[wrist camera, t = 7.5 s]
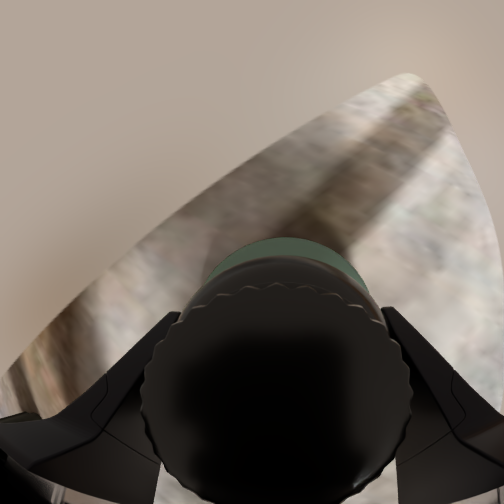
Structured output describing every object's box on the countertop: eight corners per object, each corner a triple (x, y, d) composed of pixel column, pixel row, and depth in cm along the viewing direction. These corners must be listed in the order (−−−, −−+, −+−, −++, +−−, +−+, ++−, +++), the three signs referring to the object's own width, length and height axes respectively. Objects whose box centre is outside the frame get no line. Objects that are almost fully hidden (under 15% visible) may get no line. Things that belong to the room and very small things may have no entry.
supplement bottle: (203, 345, 16) (52, 405, 4) (272, 255, 16) (229, 136, 5) (294, 411, 14) (294, 569, 3) (364, 322, 15) (511, 348, 3)
